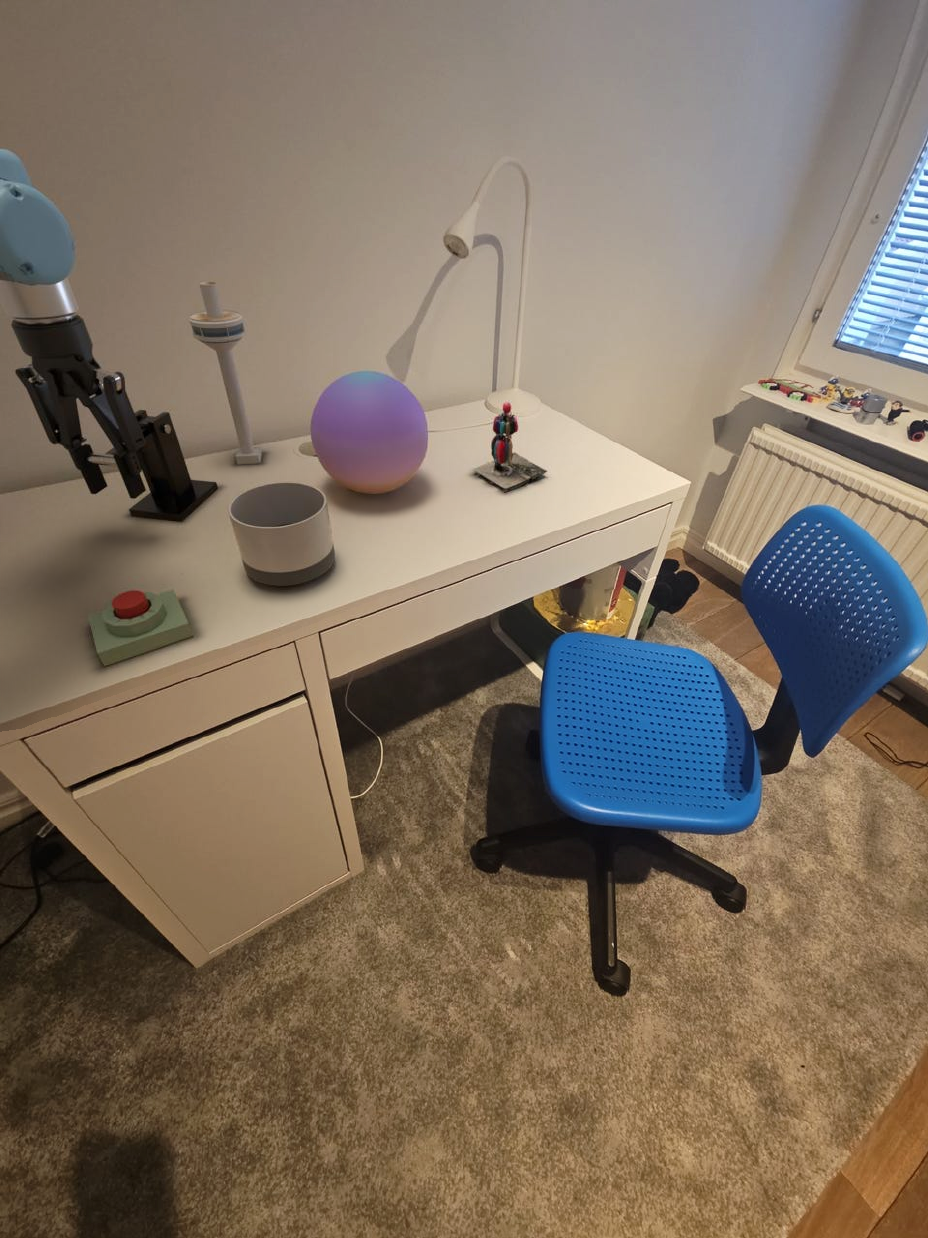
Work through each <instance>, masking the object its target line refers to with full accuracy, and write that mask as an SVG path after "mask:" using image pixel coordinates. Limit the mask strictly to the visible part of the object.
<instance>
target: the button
mask: <svg viewBox="0 0 928 1238" xmlns="http://www.w3.org/2000/svg"><path fill="white" fill-rule="evenodd" d="M143 592H144V591H142V590H136V589H135V590H133V589H132V590H127V591H124V592H123V591H122V592H121V593H118V595H116V596H115V597H114V598H113V599H112V600H111V602H112V606H113V608H114V610H115V612H116V614H117V616H118V617H119V618H121V619H132V618H135V617H138V616H141V615H143V614H144V613H146V612H147V611H148V610H149V608H150V605H149V603H148V601H147V598H146V596H145V594H144V593H143Z"/></svg>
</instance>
